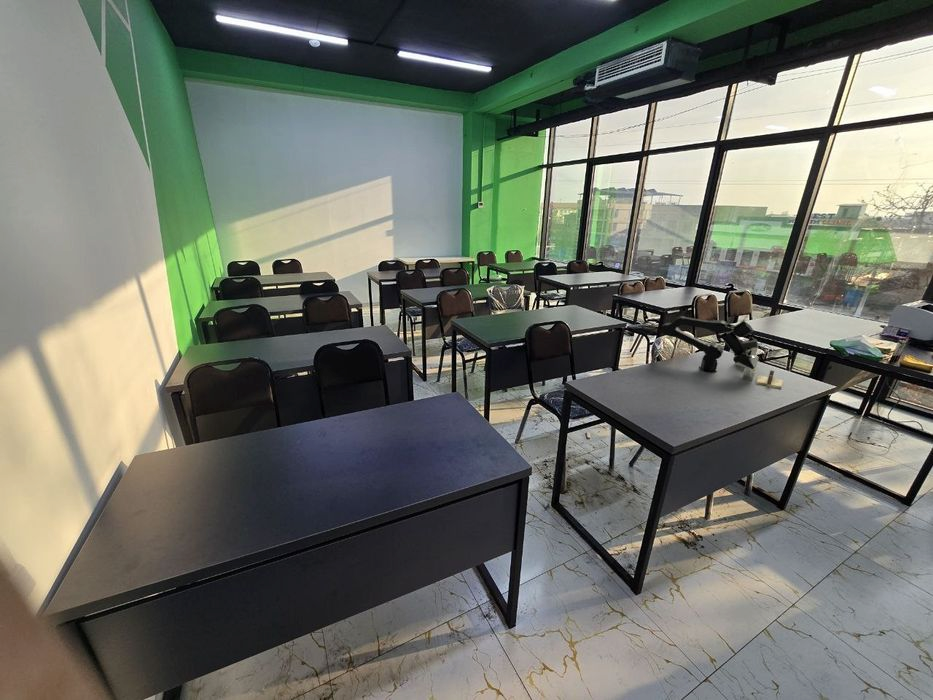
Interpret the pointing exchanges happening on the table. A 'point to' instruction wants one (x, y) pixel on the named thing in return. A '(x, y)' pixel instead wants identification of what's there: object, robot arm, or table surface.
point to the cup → (754, 351)
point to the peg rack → (769, 381)
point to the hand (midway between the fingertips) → (753, 367)
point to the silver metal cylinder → (749, 372)
